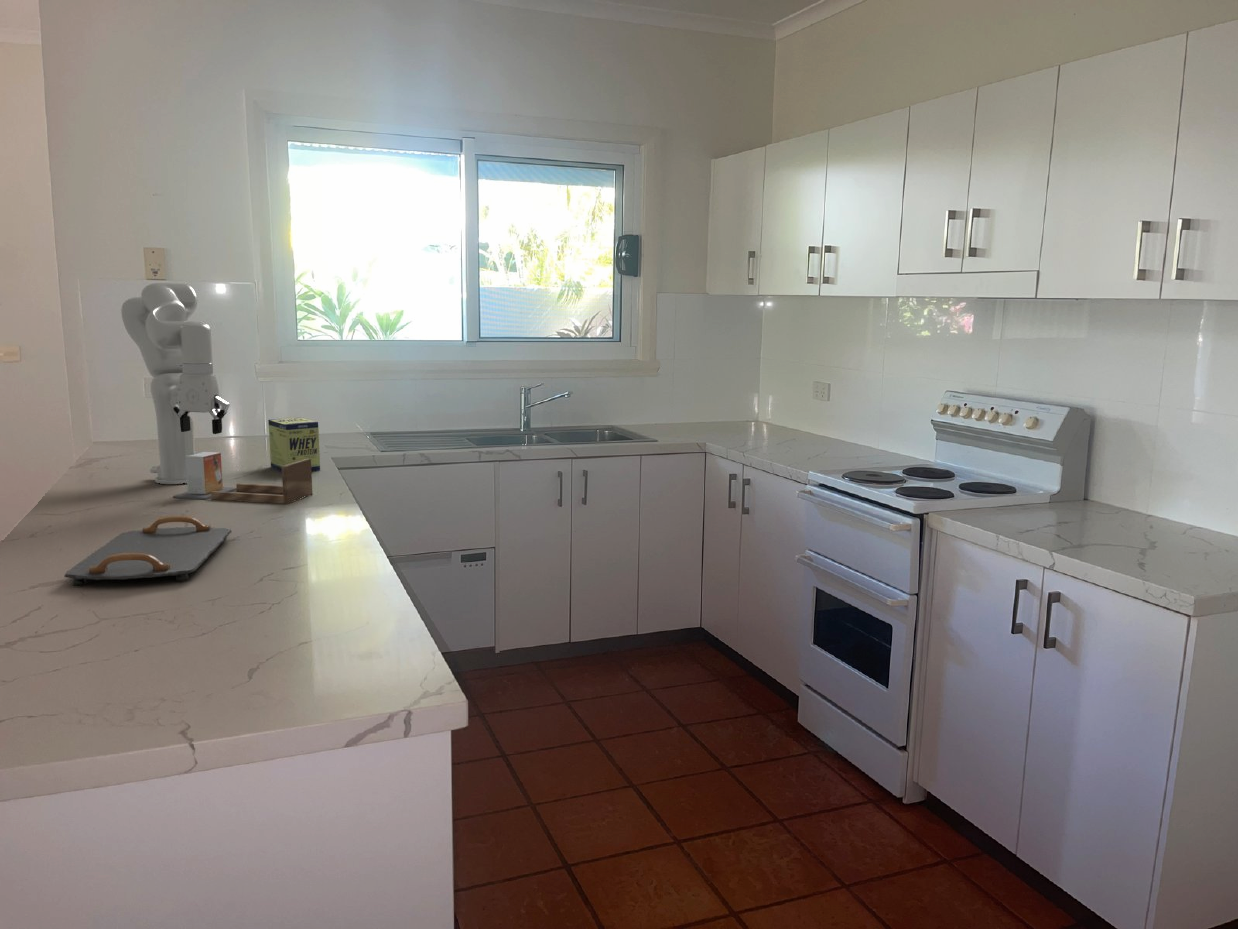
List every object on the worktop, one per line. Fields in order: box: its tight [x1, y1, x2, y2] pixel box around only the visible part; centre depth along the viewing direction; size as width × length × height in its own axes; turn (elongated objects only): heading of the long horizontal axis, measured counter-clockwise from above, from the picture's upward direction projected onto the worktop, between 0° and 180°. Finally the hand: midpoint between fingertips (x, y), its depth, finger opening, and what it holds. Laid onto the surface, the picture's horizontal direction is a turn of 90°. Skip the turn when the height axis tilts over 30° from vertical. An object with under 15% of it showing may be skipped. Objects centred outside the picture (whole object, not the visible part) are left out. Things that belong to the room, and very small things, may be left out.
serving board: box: [64, 515, 232, 587], centre depth 186 cm, size 39×23×6 cm, turn 11°
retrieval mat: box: [172, 486, 237, 501], centre depth 252 cm, size 10×14×1 cm
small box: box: [185, 451, 224, 494], centre depth 251 cm, size 8×6×10 cm
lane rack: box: [210, 459, 313, 504], centre depth 248 cm, size 23×12×10 cm, turn 78°
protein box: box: [268, 417, 321, 472], centre depth 290 cm, size 10×16×16 cm
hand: (201, 432), depth 249 cm, fingers open, 9 cm apart
